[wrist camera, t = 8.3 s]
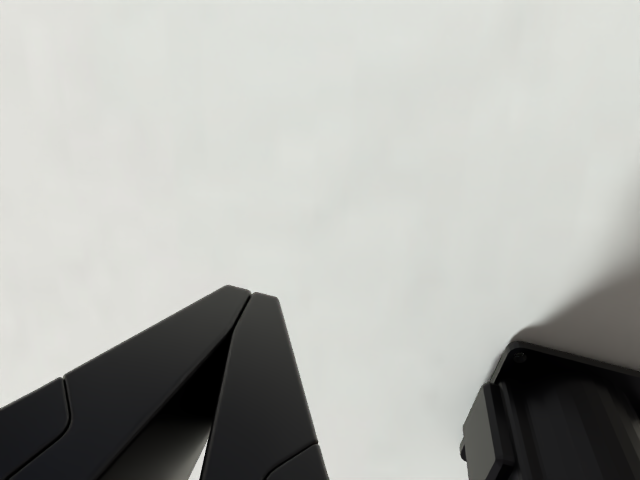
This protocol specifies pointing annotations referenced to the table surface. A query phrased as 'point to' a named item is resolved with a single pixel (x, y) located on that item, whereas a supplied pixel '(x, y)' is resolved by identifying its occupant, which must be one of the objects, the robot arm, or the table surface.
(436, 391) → the table surface
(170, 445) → the robot arm
